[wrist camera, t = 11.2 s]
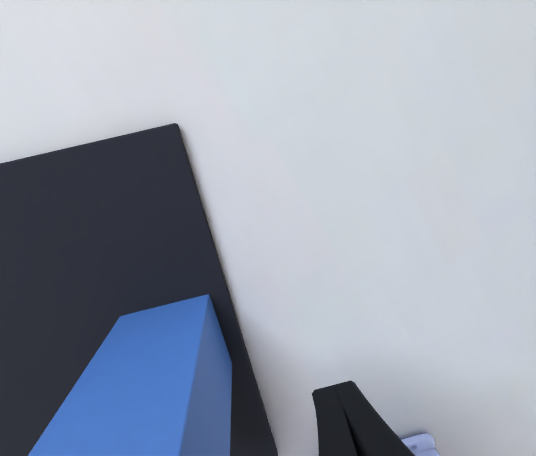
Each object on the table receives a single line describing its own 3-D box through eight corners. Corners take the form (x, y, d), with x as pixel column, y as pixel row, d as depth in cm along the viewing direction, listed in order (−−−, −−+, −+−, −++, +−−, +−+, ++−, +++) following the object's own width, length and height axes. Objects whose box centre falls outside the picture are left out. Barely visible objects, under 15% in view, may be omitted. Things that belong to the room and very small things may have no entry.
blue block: (209, 293, 14) (174, 481, 6) (232, 363, 15) (227, 588, 8) (119, 315, 14) (-28, 535, 6) (151, 384, 15) (63, 633, 7)
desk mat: (177, 123, 12) (175, 122, 11) (277, 451, 18) (278, 458, 18) (-191, 208, 11) (-206, 211, 11) (42, 514, 18) (37, 522, 17)
